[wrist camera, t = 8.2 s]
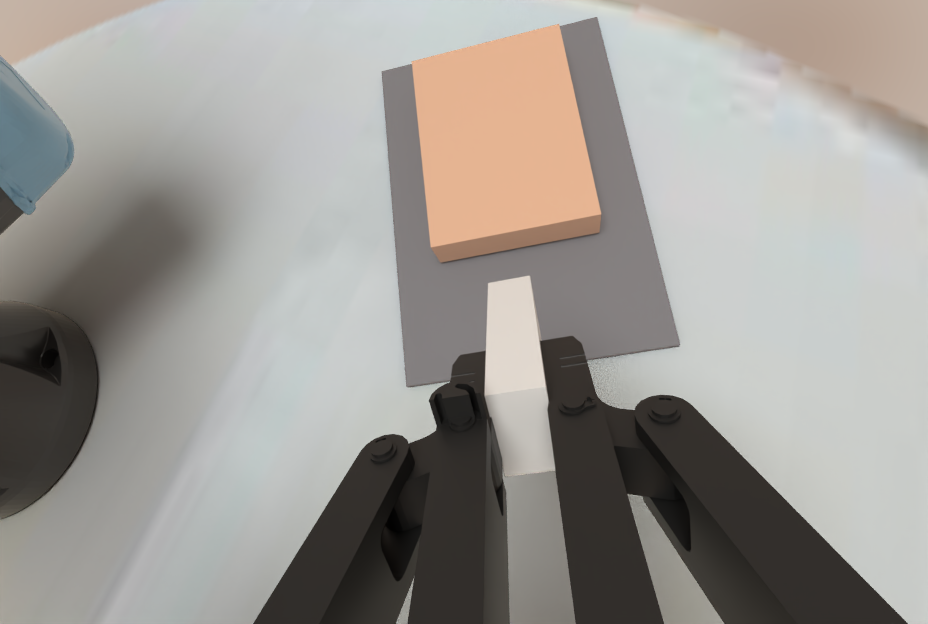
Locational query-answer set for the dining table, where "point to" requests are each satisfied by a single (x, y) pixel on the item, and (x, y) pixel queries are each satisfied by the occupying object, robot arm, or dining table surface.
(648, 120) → the dining table surface
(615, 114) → the mat
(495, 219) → the tile
